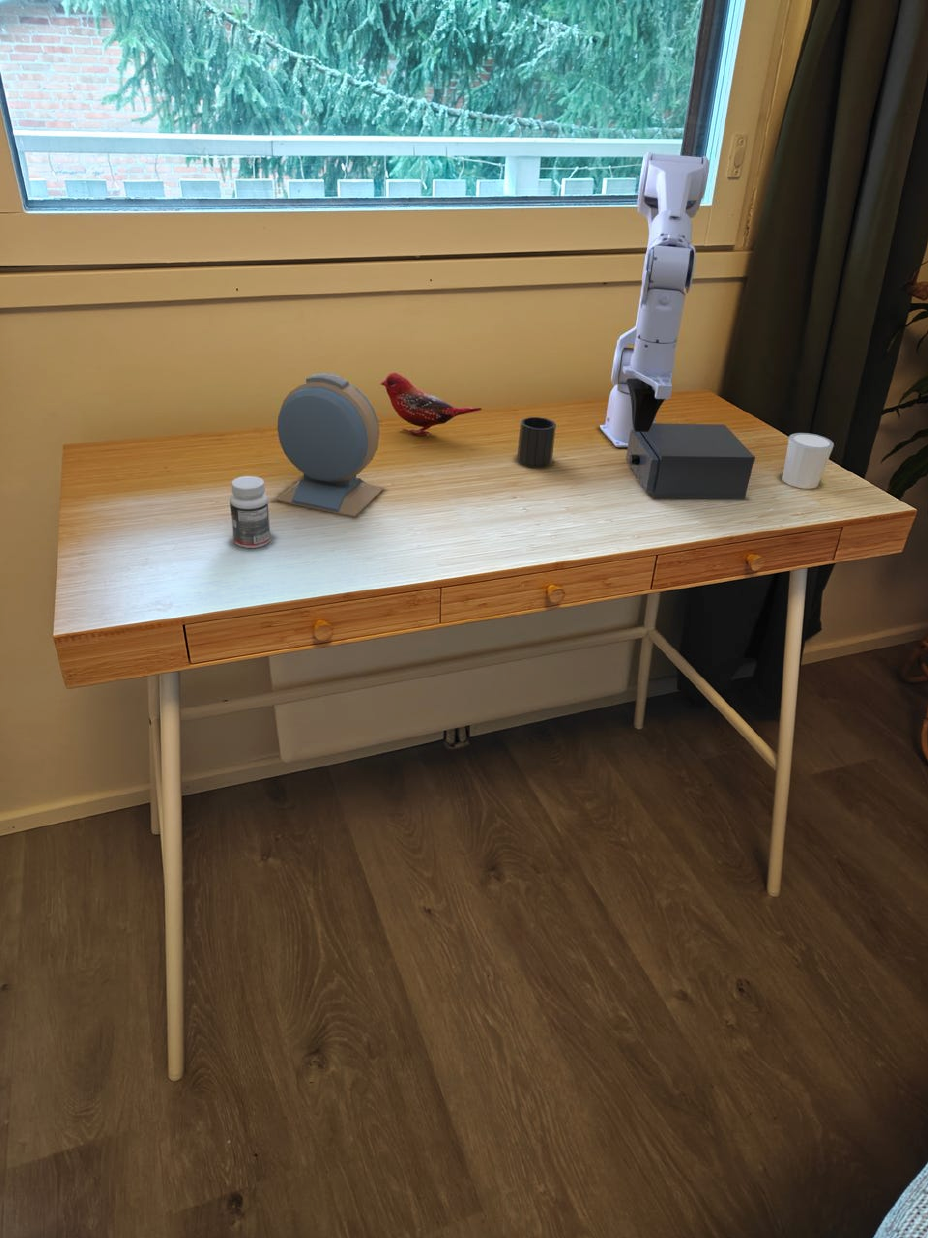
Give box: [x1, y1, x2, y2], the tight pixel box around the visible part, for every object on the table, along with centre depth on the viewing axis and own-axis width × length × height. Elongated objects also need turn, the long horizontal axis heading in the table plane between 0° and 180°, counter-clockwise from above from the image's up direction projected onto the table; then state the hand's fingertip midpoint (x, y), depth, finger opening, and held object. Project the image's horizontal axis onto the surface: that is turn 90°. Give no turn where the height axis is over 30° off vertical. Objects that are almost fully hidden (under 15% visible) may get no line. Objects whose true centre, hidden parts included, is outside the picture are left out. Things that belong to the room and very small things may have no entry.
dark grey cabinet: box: [640, 422, 756, 500], centre depth 140 cm, size 14×13×7 cm
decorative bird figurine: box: [380, 372, 483, 436], centre depth 148 cm, size 3×18×10 cm, turn 74°
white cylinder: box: [781, 432, 835, 490], centre depth 142 cm, size 7×7×7 cm
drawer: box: [625, 429, 660, 493], centre depth 139 cm, size 15×12×5 cm
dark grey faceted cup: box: [517, 416, 557, 469], centre depth 143 cm, size 5×5×6 cm
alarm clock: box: [275, 372, 384, 518], centre depth 125 cm, size 14×10×18 cm
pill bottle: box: [229, 475, 271, 549], centre depth 115 cm, size 5×5×8 cm
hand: (640, 429), depth 132 cm, fingers closed
